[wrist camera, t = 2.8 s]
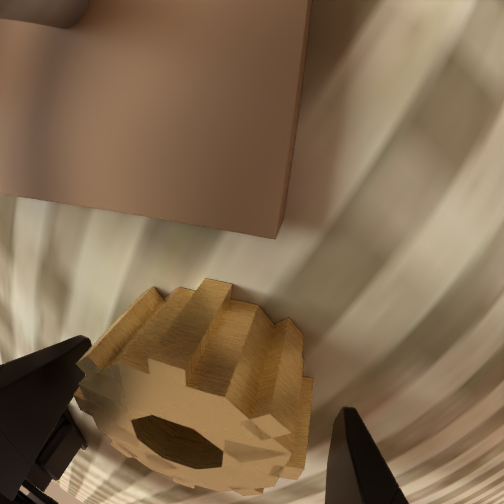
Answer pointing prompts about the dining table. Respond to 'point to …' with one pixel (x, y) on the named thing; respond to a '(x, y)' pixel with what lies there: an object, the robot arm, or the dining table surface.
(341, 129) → the dining table surface
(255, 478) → the brass gear
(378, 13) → the dining table surface
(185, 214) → the gear board
